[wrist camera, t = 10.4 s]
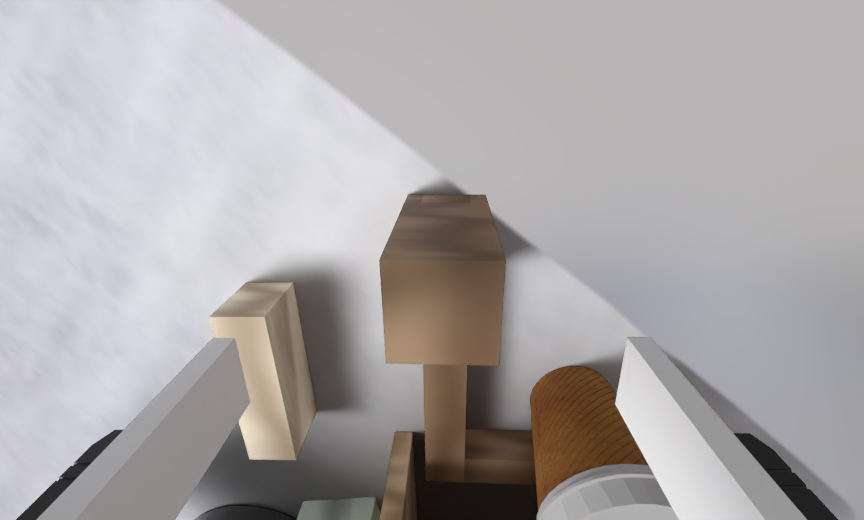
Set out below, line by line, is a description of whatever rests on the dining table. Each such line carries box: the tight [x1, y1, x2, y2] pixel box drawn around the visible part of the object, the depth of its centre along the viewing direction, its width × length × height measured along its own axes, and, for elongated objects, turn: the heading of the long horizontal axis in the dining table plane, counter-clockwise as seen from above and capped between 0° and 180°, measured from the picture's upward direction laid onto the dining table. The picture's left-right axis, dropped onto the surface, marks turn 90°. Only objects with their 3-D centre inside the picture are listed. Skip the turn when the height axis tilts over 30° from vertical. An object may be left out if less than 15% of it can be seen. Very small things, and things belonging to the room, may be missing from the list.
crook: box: [379, 195, 536, 485], centre depth 25 cm, size 16×22×11 cm
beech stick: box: [209, 282, 317, 460], centre depth 29 cm, size 4×12×5 cm, turn 2°
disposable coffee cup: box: [530, 366, 679, 520], centre depth 26 cm, size 10×10×12 cm
